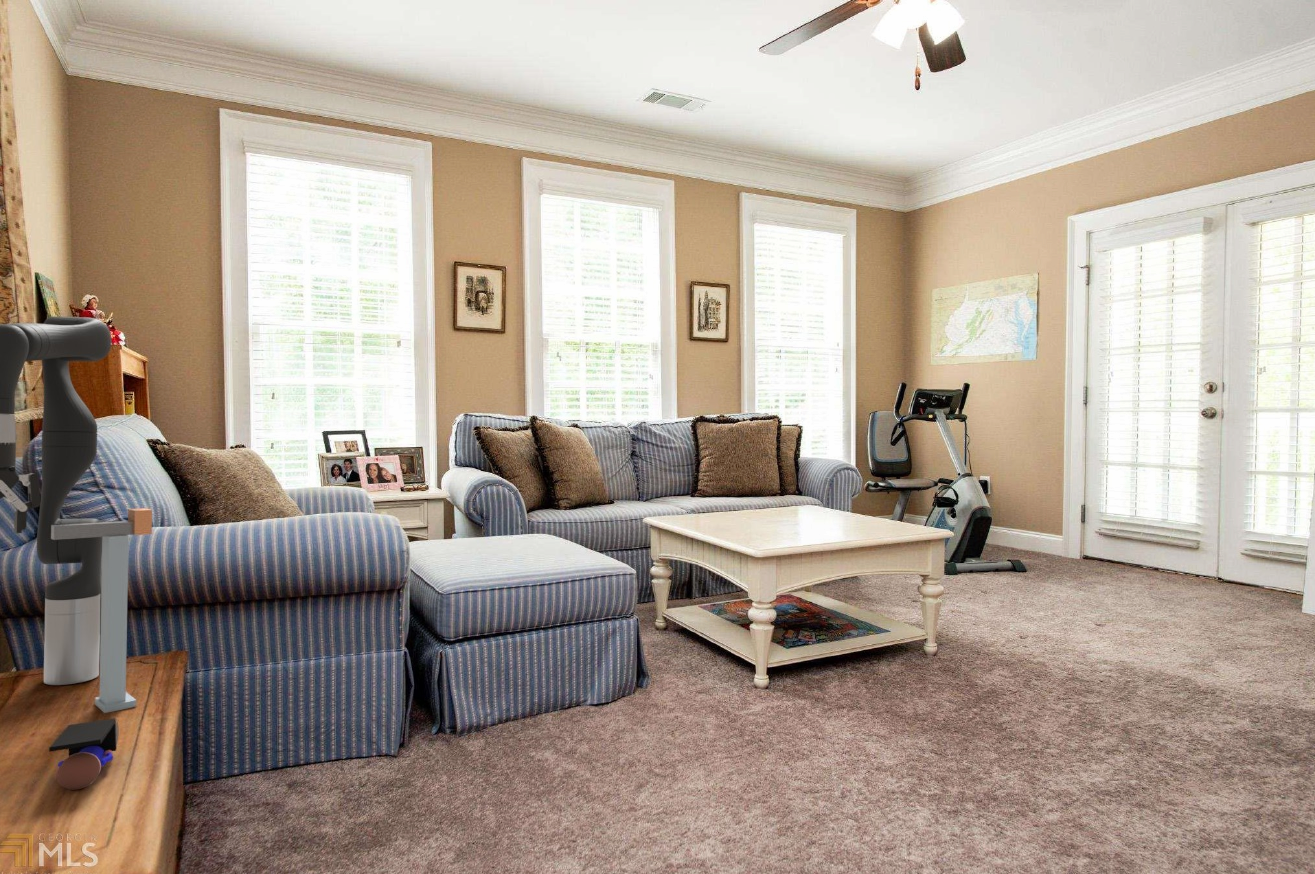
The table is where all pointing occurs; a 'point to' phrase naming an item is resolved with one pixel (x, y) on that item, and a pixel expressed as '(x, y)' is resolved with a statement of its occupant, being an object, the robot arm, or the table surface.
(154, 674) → the table surface
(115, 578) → the post
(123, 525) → the grey handled tool
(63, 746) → the figurine character
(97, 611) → the robot arm
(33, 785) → the table surface
